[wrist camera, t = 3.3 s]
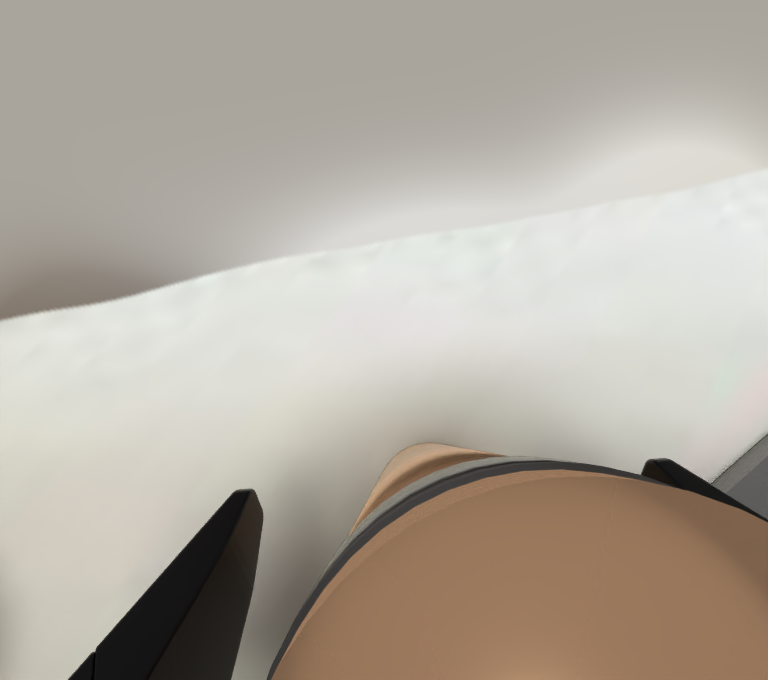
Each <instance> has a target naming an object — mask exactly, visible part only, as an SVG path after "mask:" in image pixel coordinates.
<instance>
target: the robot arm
mask: <svg viewBox="0 0 768 680" xmlns="http://www.w3.org/2000/svg"><path fill="white" fill-rule="evenodd" d="M641 475H643V476H646V477H648V478H651V479H654V480H657V481H660V482H662V483H665V484H668V485H671V486H674V487H676V488H679V489H682V490H686V491H691V492H694V493H697V494H699V495H702V496H705V497H708V498H711V499H713V500H716V501H719V502H722V503H725V504H727V505H730V506H733V507H736V508H739V509H741V510H743V511H745V512H748V513H750V514H752V515H754V516H756V517H758V518H760V519H762V520H764V521H766V522H768V519H767V518H765V517H763V516H762V515H760V514H758V513H757V512H755V511H754V510H752V509H750V508H749V507H747V506H745V505H744V504H742V503H741V502H739V501H737V500H736V499H734V498H732V497H731V496H729V495H728V494H726V493H724V492H723V491H721V490H719V489H718V488H716V487H715V486H713V485H711V484H710V483H708V482H706V481H705V480H703V479H701V478H700V477H698V476H697V475H695V474H693V473H692V472H690V471H688V470H687V469H685V468H684V467H682V466H680V465H679V464H677V463H675V462H674V461H672V460H670V459H667V458H659V459H649V460H648V461H646V463H645V465H644V468H643V471H642V473H641ZM262 525H263V510H262V507H261V505H260V502H259V500H258V497H257V494H256V492H255V490H253V489H239V490H236V491H234V492H233V493H232V494H231V495H230V497H229V498H228V499H227V500H226V501H225V502H224V503H223V504H222V506H221V507H220V508H219V509H218V510H217V511H216V512H215V514H214V515H213V516H212V517H211V518H210V519H209V520H208V522H207V523H206V524H205V525H204V526H203V527H202V528H201V529H200V531H199V532H198V533H197V534H196V535H195V536H194V537H193V539H192V540H191V541H190V542H189V543H188V544H187V545H186V546H185V548H184V549H183V550H182V551H181V552H180V553H179V554H178V556H177V557H176V558H175V559H174V560H173V561H172V562H171V563H170V565H169V566H168V567H167V568H166V569H165V570H164V571H163V573H162V574H161V575H160V576H159V577H158V578H157V579H156V581H155V582H154V583H153V584H152V585H151V586H150V587H149V588H148V590H147V591H146V592H145V593H144V594H143V595H142V596H141V598H140V599H139V600H138V601H137V602H136V603H135V604H134V605H133V607H132V608H131V609H130V610H129V611H128V612H127V613H126V615H125V616H124V617H123V618H122V619H121V620H120V621H119V622H118V624H117V625H116V626H115V627H114V628H113V629H112V630H111V632H110V633H109V634H108V635H107V636H106V637H105V638H104V640H103V641H102V642H101V643H100V644H99V645H98V646H97V648H96V651H95V652H92V653H91V654H90V655H89V656H88V657H87V659H86V660H85V661H84V662H83V663H82V664H81V665H80V667H79V668H78V669H77V670H76V671H75V672H74V673H73V674H72V676H71V677H70V678H69V679H68V680H231V678H232V674H233V670H234V666H235V662H236V658H237V653H238V649H239V645H240V641H241V637H242V633H243V629H244V625H245V621H246V617H247V613H248V609H249V605H250V601H251V596H252V592H253V587H254V581H255V574H256V567H257V560H258V553H259V546H260V539H261V532H262Z"/></svg>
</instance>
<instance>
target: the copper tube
mask: <svg viewBox="0 0 768 680" xmlns="http://www.w3.org/2000/svg"><path fill="white" fill-rule="evenodd" d="M267 680H768V522H766V521H764V520H762V519H760V518H758V517H756V516H754V515H752V514H750V513H748V512H745V511H743V510H741V509H739V508H736V507H733V506H730V505H727V504H725V503H722V502H719V501H716V500H713V499H711V498H708V497H705V496H702V495H699V494H697V493H694V492H691V491H686V490H682V489H679V488H676V487H674V486H671V485H668V484H665V483H662V482H660V481H657V480H654V479H651V478H648V477H646V476H643V475H639V474H634V473H630V472H625V471H621V470H616V469H612V468H607V467H603V466H597V465H590V464H583V463H576V462H570V461H563V460H556V459H548V458H537V457H526V456H504V455H499V454H493V453H487V452H482V451H476V450H471V449H465V448H460V447H454V446H449V445H443V444H438V443H421V444H416V445H413V446H410V447H408V448H406V449H404V450H403V451H401V452H399V453H398V454H397V455H396V456H395V457H393V458H392V460H391V461H390V462H389V463H388V465H387V466H386V468H385V469H384V471H383V473H382V474H381V476H380V478H379V480H378V482H377V484H376V486H375V487H374V489H373V491H372V493H371V495H370V497H369V499H368V500H367V502H366V504H365V506H364V508H363V510H362V512H361V513H360V515H359V517H358V519H357V521H356V523H355V524H354V526H353V528H352V530H351V532H350V534H349V536H348V537H347V539H346V540H345V541H344V542H343V543H342V544H341V546H340V547H339V549H338V550H337V552H336V553H335V555H334V556H333V558H332V559H331V561H330V562H329V564H328V565H327V567H326V568H325V570H324V571H323V573H322V574H321V576H320V578H319V579H318V581H317V583H316V585H315V586H314V588H313V590H312V591H311V593H310V595H309V597H308V598H307V600H306V602H305V603H304V605H303V607H302V609H301V610H300V612H299V614H298V615H297V617H296V619H295V621H294V622H293V624H292V626H291V628H290V630H289V632H288V634H287V636H286V638H285V640H284V642H283V644H282V646H281V648H280V650H279V652H278V654H277V656H276V658H275V660H274V662H273V664H272V666H271V669H270V672H269V674H268V677H267Z"/></svg>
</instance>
